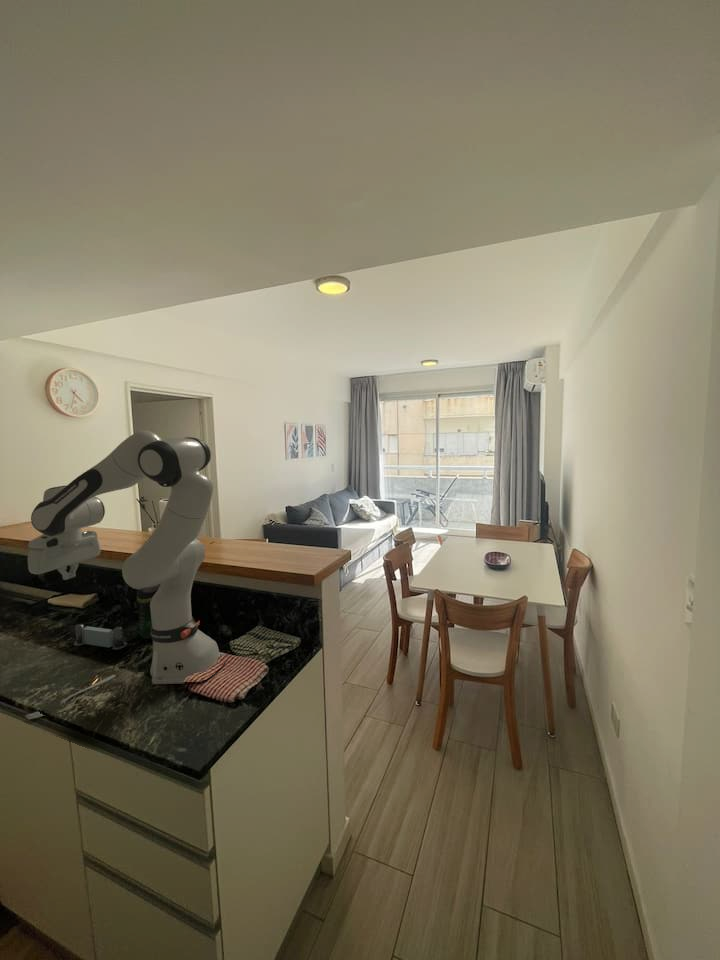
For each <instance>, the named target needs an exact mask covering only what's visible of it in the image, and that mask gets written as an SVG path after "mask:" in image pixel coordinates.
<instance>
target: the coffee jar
mask: <svg viewBox="0 0 720 960" xmlns="http://www.w3.org/2000/svg"><path fill="white" fill-rule="evenodd" d="M160 585H161V584H158V585H156V586H153V587H148V588H142V589H136V600H137V602H138V603H139V604H138V605H139V636H140V637H141V638H142V639H146V640H149V639H151V625H152V620H151V610H150V602H151V599H152V597H153V596H154V595H155V593H156V592H157V591H158V589H159V587H160Z"/></svg>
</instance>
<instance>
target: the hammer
mask: <svg viewBox="0 0 720 960" xmlns="http://www.w3.org/2000/svg"><path fill="white" fill-rule="evenodd" d="M113 638H114V645H113V646H111V647H112V648H111V649H112V650H113V651H119V650H122V649H125V648H126V647H127V646H128V642H125V639H124V630H123V627H122V626H118V627H117V626H116V627H115V628H113Z"/></svg>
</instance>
